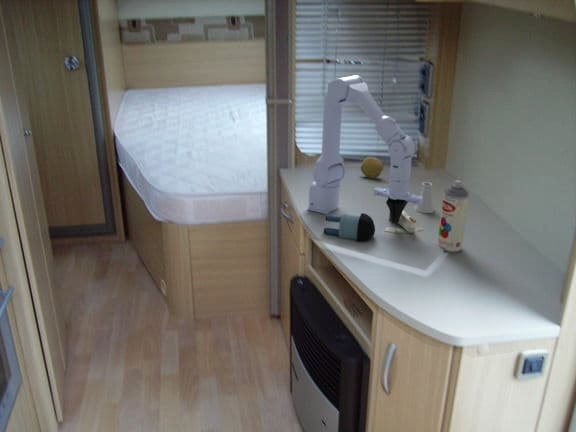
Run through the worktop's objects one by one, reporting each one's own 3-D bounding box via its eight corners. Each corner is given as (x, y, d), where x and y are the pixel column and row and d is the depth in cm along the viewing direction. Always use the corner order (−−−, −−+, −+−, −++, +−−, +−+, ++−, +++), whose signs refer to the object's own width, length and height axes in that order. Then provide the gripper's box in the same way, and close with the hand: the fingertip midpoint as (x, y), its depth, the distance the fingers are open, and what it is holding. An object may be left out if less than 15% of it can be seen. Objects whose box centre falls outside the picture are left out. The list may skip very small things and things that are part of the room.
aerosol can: (432, 245, 170) (439, 179, 163) (451, 241, 173) (460, 176, 165) (447, 255, 164) (455, 186, 157) (466, 251, 167) (476, 183, 159)
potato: (359, 174, 230) (360, 154, 227) (378, 174, 230) (380, 154, 227) (363, 180, 223) (364, 160, 220) (383, 180, 224) (384, 159, 221)
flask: (435, 217, 190) (439, 188, 186) (412, 215, 191) (415, 186, 187) (435, 209, 196) (438, 181, 193) (412, 207, 198) (415, 179, 194)
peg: (386, 218, 186) (388, 204, 184) (398, 217, 187) (399, 203, 185) (407, 235, 173) (408, 221, 171) (419, 234, 174) (421, 220, 173)
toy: (324, 240, 177) (374, 247, 173) (318, 234, 169) (370, 241, 165) (328, 213, 179) (378, 219, 175) (323, 205, 171) (375, 212, 167)
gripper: (370, 177, 173) (367, 220, 178) (418, 187, 165) (413, 232, 170) (380, 171, 178) (377, 213, 183) (427, 180, 171) (422, 224, 176)
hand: (395, 222), depth 177 cm, fingers closed
